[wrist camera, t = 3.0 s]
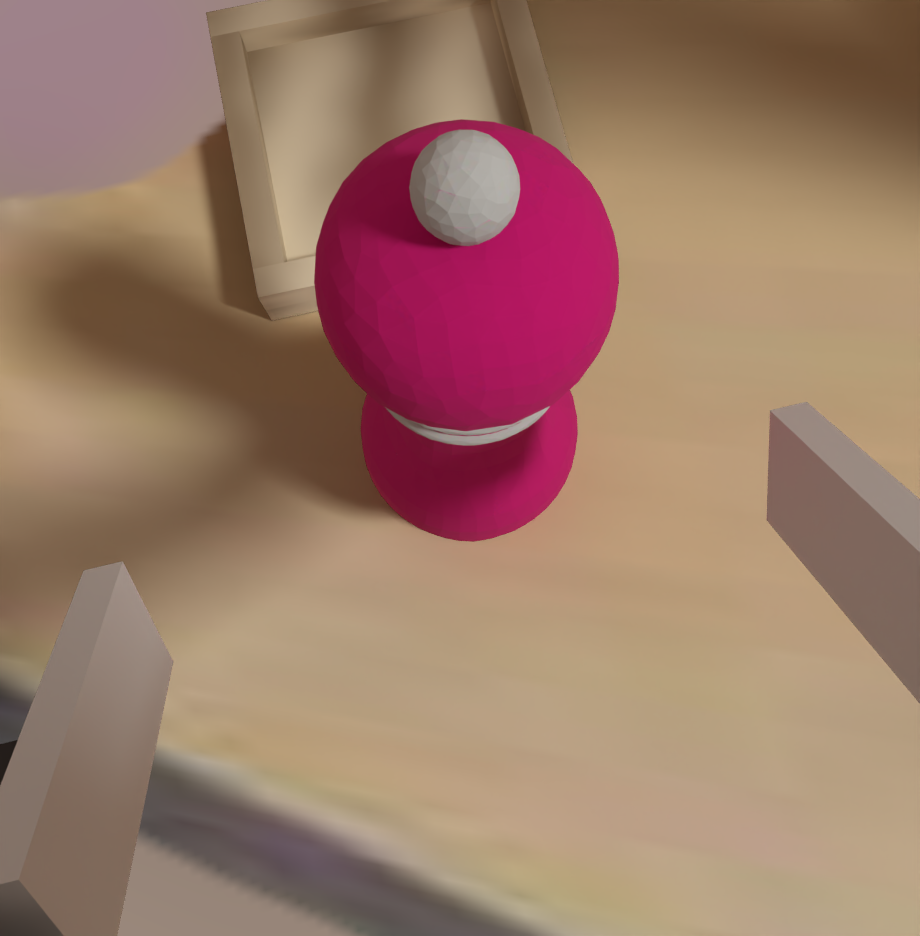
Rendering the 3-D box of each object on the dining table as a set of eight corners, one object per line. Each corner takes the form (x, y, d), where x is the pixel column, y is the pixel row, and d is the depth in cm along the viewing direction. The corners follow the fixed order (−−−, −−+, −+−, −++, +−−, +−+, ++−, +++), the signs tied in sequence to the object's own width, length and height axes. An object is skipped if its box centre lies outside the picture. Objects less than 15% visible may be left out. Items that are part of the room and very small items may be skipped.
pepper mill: (532, 353, 33) (621, -91, 13) (586, 526, 31) (776, 312, 12) (357, 399, 32) (182, 15, 13) (402, 577, 31) (281, 444, 11)
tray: (509, -8, 37) (512, -49, 34) (583, 253, 34) (591, 226, 32) (222, 50, 36) (206, 12, 34) (271, 320, 33) (258, 297, 31)
